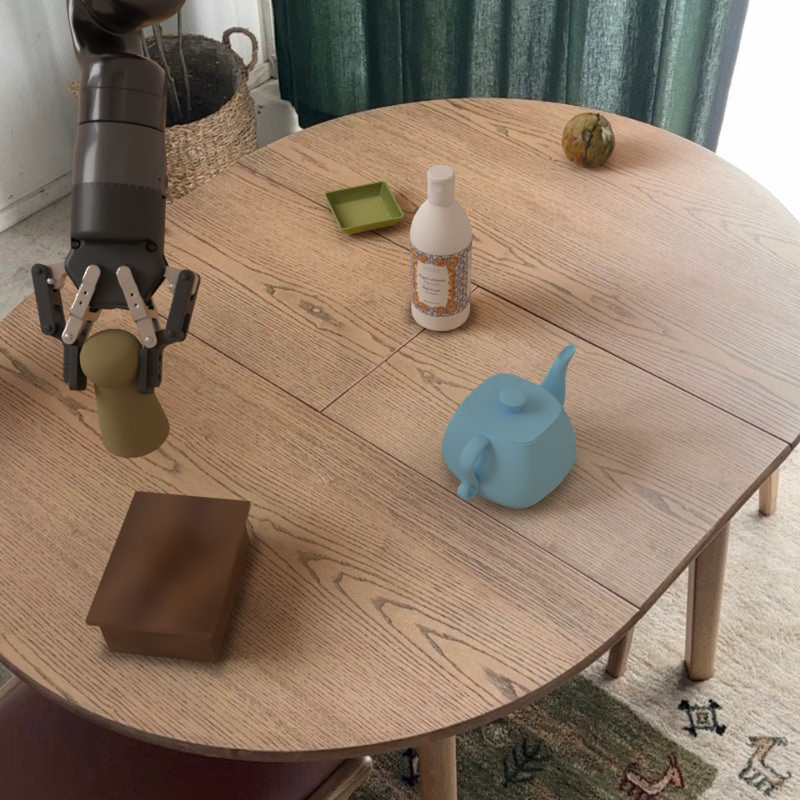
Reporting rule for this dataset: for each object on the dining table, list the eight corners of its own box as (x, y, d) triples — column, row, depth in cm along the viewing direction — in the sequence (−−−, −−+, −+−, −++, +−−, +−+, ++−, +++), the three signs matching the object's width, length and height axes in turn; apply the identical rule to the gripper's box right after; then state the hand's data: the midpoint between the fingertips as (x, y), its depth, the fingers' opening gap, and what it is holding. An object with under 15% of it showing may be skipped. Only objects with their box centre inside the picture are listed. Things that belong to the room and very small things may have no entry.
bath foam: (403, 325, 125) (398, 183, 111) (423, 289, 129) (421, 148, 115) (458, 339, 123) (461, 196, 109) (477, 301, 128) (482, 160, 113)
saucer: (386, 192, 144) (385, 179, 142) (406, 229, 138) (405, 216, 136) (324, 205, 142) (322, 192, 140) (341, 243, 136) (340, 230, 135)
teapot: (626, 367, 104) (516, 475, 95) (613, 439, 112) (510, 546, 103) (523, 313, 110) (410, 410, 101) (517, 385, 118) (412, 481, 109)
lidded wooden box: (100, 656, 96) (85, 620, 91) (147, 528, 105) (135, 490, 101) (221, 669, 94) (211, 633, 90) (257, 538, 104) (249, 500, 100)
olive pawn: (169, 402, 97) (144, 313, 89) (171, 452, 93) (145, 362, 85) (101, 412, 96) (71, 323, 88) (101, 463, 92) (68, 373, 84)
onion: (622, 150, 149) (629, 99, 143) (605, 181, 144) (612, 130, 138) (570, 139, 151) (575, 89, 146) (552, 169, 146) (557, 118, 141)
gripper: (15, 175, 84) (8, 389, 85) (192, 181, 83) (184, 397, 83) (53, 191, 92) (46, 387, 92) (216, 196, 90) (209, 395, 91)
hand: (112, 391), depth 88 cm, fingers closed on olive pawn, 5 cm apart
